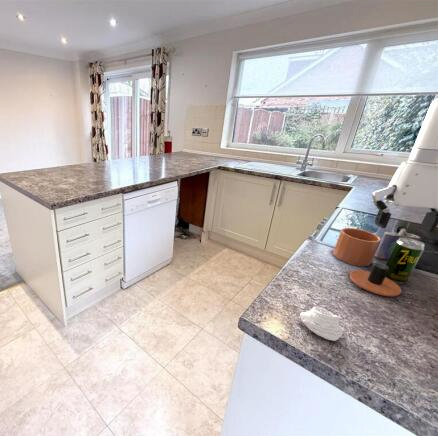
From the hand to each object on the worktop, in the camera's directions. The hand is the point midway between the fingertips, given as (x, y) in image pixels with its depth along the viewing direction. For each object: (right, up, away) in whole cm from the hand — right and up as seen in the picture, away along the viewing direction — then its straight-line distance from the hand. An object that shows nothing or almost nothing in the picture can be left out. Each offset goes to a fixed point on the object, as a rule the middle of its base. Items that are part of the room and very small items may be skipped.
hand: (402, 227), depth 61 cm
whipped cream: (-26, -22, -7) cm, 34 cm away
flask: (+16, -11, +20) cm, 28 cm away
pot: (+4, -11, +20) cm, 23 cm away
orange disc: (-1, -16, +7) cm, 17 cm away
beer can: (+7, -15, +10) cm, 19 cm away
